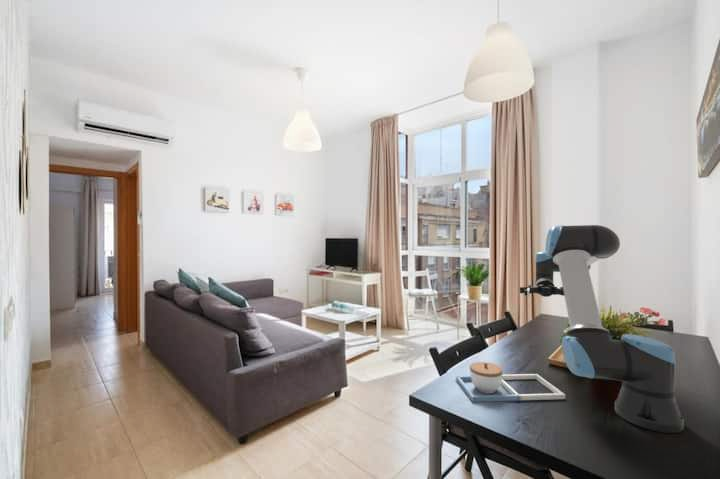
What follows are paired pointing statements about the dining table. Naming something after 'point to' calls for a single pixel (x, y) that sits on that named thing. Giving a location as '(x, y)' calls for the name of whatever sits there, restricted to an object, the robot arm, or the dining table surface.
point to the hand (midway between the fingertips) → (547, 294)
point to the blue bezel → (483, 397)
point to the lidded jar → (486, 376)
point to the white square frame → (555, 395)
